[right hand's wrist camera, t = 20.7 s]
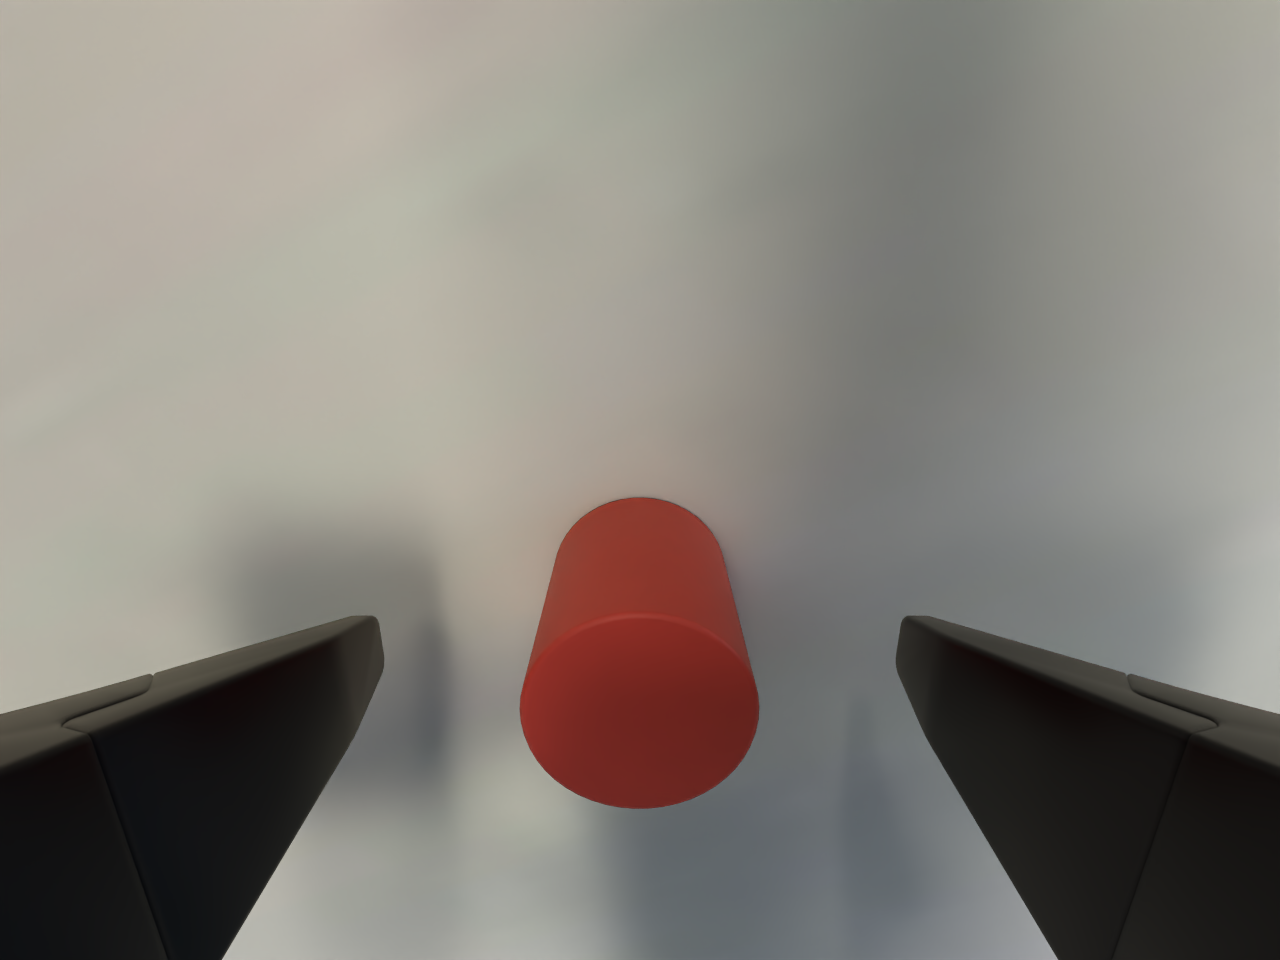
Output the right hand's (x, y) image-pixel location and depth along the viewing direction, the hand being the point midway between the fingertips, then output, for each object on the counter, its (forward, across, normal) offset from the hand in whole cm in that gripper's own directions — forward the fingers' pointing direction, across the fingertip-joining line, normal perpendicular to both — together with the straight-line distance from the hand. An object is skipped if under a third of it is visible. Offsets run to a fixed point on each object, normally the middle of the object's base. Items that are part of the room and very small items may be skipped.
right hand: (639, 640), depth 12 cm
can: (+2, 0, 0) cm, 2 cm away
